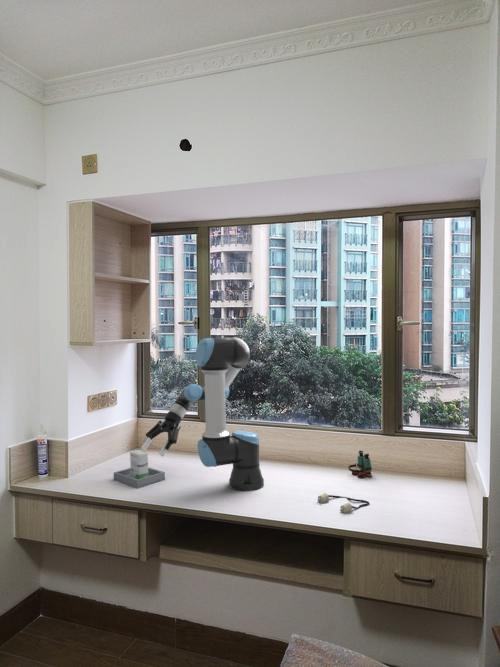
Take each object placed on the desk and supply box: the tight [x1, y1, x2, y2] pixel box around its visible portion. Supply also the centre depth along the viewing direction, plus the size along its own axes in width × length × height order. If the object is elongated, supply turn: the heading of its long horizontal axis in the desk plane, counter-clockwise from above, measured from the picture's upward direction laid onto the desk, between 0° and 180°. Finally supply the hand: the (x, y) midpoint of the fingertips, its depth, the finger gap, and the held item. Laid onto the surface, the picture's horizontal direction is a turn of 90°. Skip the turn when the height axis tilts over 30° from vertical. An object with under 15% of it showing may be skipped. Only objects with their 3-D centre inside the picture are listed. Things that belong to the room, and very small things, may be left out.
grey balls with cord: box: [317, 492, 371, 514], centre depth 204 cm, size 16×16×4 cm
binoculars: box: [347, 450, 373, 479], centre depth 238 cm, size 9×11×10 cm
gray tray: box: [113, 466, 166, 489], centre depth 238 cm, size 18×15×4 cm
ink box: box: [129, 449, 149, 479], centre depth 238 cm, size 9×5×12 cm, turn 40°
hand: (151, 452), depth 243 cm, fingers open, 13 cm apart
